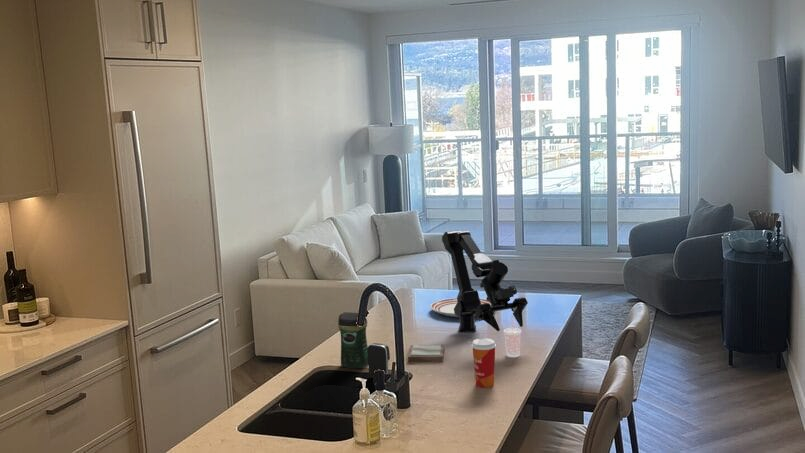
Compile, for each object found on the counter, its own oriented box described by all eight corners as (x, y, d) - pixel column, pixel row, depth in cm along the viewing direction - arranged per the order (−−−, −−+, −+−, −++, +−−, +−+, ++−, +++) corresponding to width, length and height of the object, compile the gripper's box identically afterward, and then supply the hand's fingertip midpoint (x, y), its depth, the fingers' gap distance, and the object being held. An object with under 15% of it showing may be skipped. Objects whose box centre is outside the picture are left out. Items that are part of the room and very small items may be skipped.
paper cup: (470, 380, 249) (469, 338, 246) (494, 379, 249) (493, 337, 247) (475, 390, 241) (473, 346, 239) (499, 388, 242) (498, 344, 239)
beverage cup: (503, 352, 274) (502, 313, 272) (520, 351, 274) (519, 313, 271) (505, 358, 268) (504, 319, 265) (522, 357, 268) (522, 318, 265)
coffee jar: (372, 362, 270) (369, 310, 267) (363, 370, 263) (360, 317, 260) (347, 360, 274) (344, 308, 270) (337, 368, 266) (334, 315, 263)
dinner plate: (433, 303, 342) (433, 295, 341) (496, 302, 338) (496, 295, 337) (427, 321, 315) (426, 313, 314) (495, 321, 311) (495, 313, 311)
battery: (392, 376, 256) (390, 343, 254) (386, 380, 252) (385, 347, 250) (373, 374, 259) (371, 341, 257) (368, 378, 255) (366, 344, 253)
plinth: (410, 350, 280) (410, 344, 280) (444, 350, 279) (444, 344, 279) (408, 362, 268) (407, 356, 268) (443, 361, 267) (442, 355, 267)
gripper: (477, 282, 269) (494, 320, 261) (524, 274, 276) (542, 312, 268) (467, 299, 277) (483, 337, 269) (513, 291, 284) (530, 328, 276)
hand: (510, 328), depth 270 cm, fingers open, 9 cm apart
